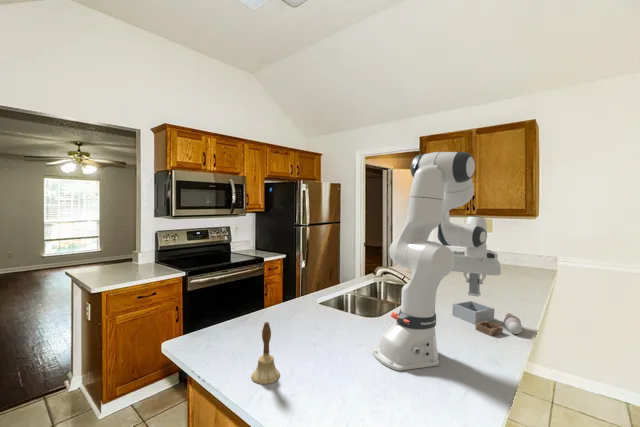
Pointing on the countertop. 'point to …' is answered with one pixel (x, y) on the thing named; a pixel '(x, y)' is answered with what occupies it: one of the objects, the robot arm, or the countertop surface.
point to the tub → (473, 312)
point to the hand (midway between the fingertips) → (474, 283)
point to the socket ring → (489, 328)
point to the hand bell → (265, 362)
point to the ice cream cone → (512, 323)
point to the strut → (474, 285)
